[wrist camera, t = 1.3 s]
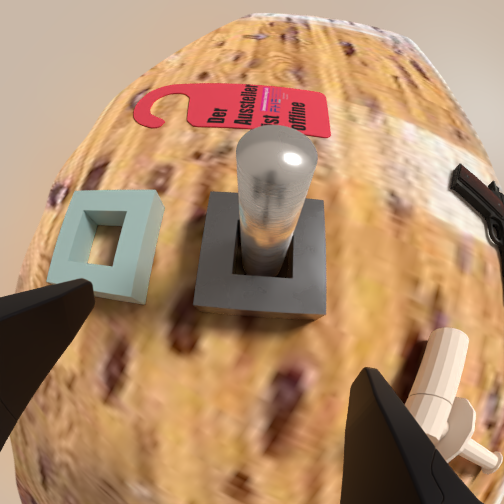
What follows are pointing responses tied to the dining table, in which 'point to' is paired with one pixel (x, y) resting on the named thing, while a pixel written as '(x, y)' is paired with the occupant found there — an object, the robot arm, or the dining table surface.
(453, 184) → the handgun
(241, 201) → the steel pin
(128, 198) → the block
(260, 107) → the door hanger
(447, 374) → the toilet paper hanger
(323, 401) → the dining table surface
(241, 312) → the socket block
